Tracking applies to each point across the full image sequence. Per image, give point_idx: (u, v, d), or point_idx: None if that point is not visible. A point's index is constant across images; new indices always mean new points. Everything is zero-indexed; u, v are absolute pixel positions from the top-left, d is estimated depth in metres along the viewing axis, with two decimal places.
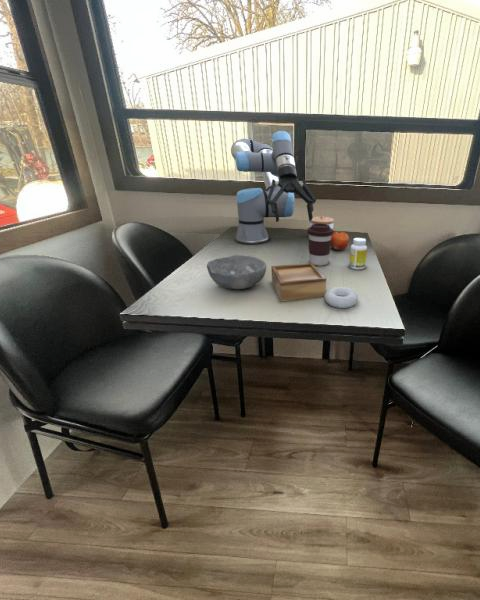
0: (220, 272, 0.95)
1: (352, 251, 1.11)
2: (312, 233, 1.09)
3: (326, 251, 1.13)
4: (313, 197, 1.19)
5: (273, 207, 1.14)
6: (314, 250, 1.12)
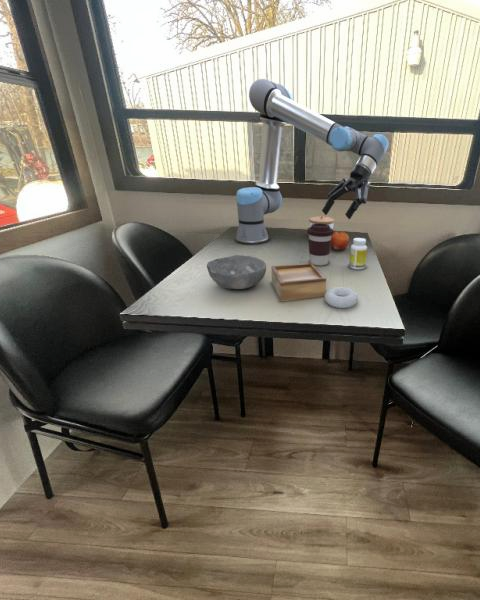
0: (220, 272, 0.95)
1: (352, 251, 1.11)
2: (312, 233, 1.09)
3: (326, 251, 1.13)
4: None
5: None
6: (314, 250, 1.12)
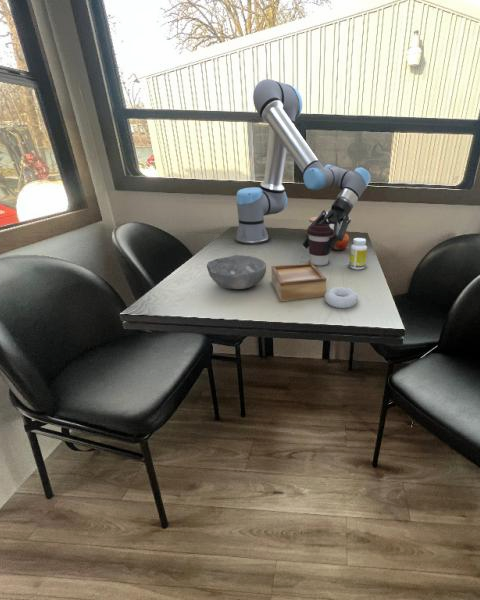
0: (220, 272, 0.95)
1: (352, 251, 1.11)
2: (312, 233, 1.09)
3: None
4: None
5: None
6: (314, 250, 1.12)
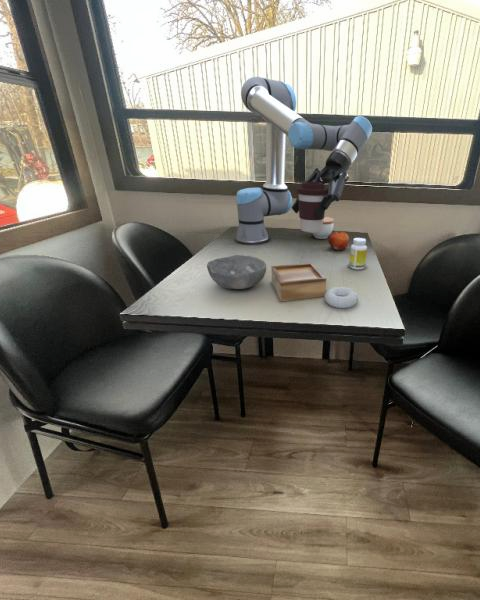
0: (220, 272, 0.95)
1: (352, 251, 1.11)
2: (302, 191, 0.90)
3: None
4: None
5: None
6: (305, 213, 0.93)
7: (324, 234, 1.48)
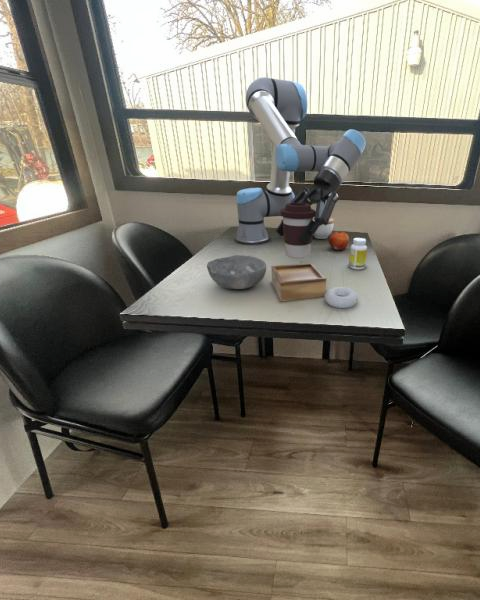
0: (220, 272, 0.95)
1: (352, 251, 1.11)
2: (286, 214, 0.81)
3: None
4: None
5: None
6: (290, 238, 0.84)
7: (324, 234, 1.48)
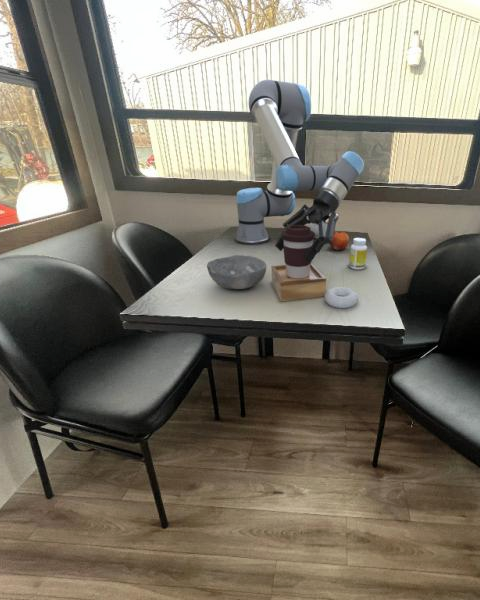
0: (220, 272, 0.95)
1: (352, 251, 1.11)
2: (287, 238, 0.83)
3: (306, 261, 0.87)
4: None
5: None
6: (290, 259, 0.87)
7: None
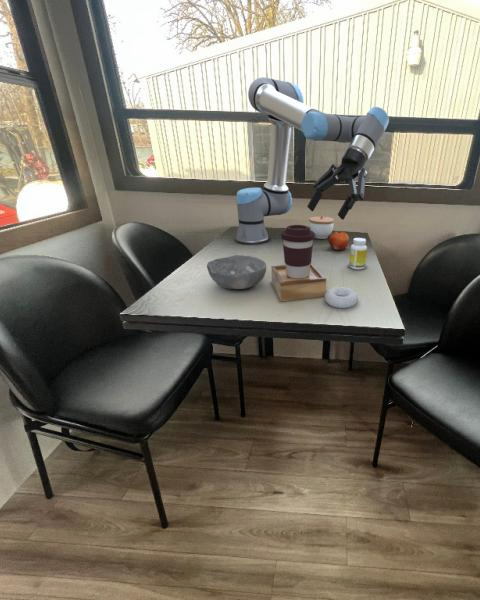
0: (220, 272, 0.95)
1: (352, 251, 1.11)
2: (286, 238, 0.83)
3: (306, 261, 0.87)
4: None
5: None
6: (290, 259, 0.87)
7: (324, 234, 1.48)
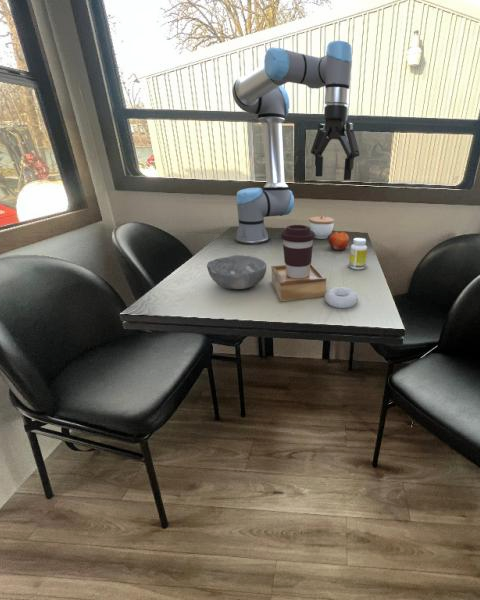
0: (220, 272, 0.95)
1: (352, 251, 1.11)
2: (286, 238, 0.83)
3: (306, 261, 0.87)
4: None
5: None
6: (290, 259, 0.87)
7: (324, 234, 1.48)
